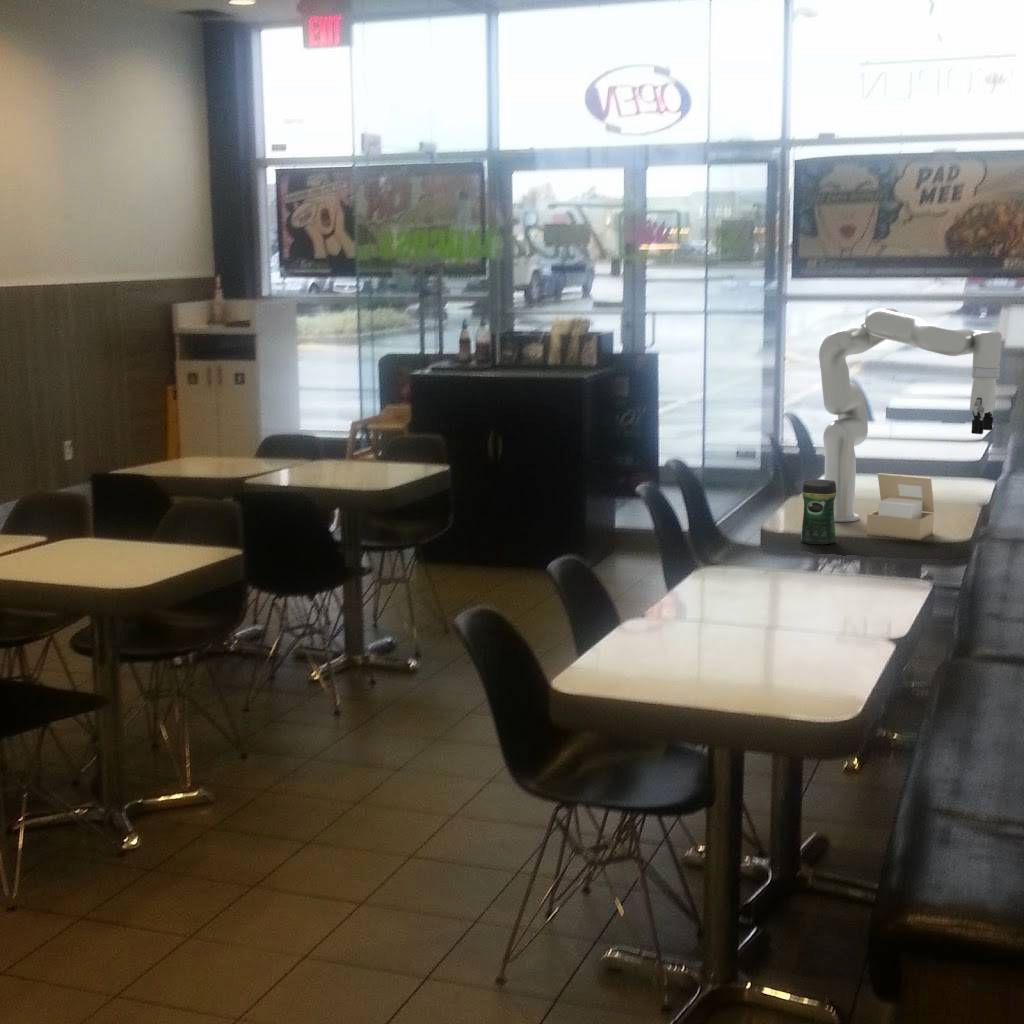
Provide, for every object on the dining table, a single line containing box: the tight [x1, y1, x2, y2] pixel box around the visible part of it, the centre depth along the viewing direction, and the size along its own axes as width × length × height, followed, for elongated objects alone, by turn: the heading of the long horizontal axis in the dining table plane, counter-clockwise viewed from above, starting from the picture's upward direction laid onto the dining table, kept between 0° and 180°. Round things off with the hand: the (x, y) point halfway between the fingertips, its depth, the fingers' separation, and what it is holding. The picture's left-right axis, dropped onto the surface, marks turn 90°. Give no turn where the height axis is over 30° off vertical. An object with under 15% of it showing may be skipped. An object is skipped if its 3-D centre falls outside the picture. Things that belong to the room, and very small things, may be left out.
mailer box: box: [866, 497, 935, 541], centre depth 399 cm, size 16×12×10 cm
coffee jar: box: [800, 478, 837, 545], centre depth 388 cm, size 10×8×19 cm
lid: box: [877, 472, 935, 513], centre depth 401 cm, size 16×12×1 cm
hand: (981, 431), depth 392 cm, fingers open, 9 cm apart
